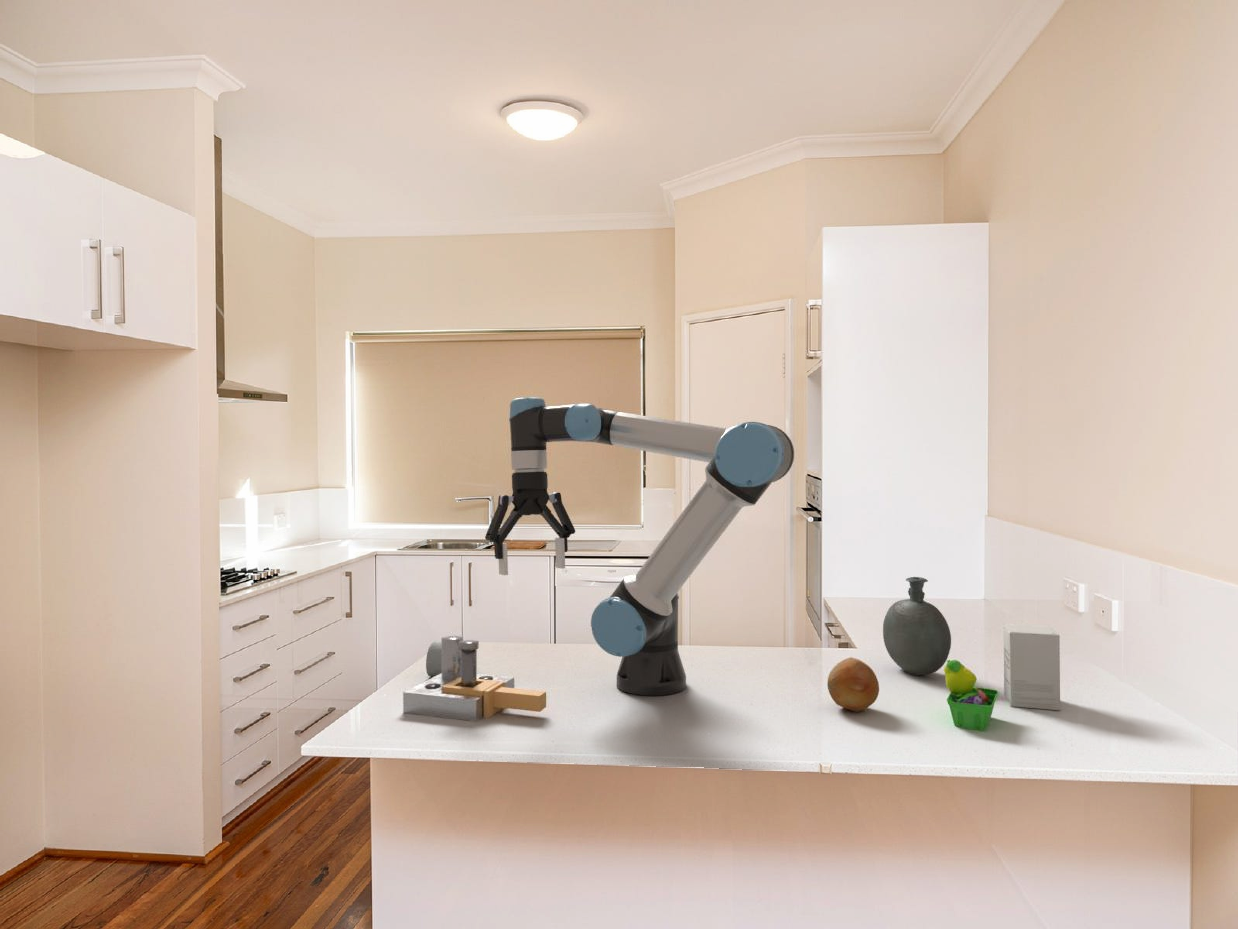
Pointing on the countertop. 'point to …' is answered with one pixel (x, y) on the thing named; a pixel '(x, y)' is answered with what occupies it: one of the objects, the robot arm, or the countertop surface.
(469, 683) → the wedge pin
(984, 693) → the fruit basket
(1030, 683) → the supplement box
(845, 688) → the onion
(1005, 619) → the countertop surface
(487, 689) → the bracket
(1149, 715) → the countertop surface
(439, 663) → the ceramic mug
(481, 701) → the grey latch block
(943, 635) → the flask
